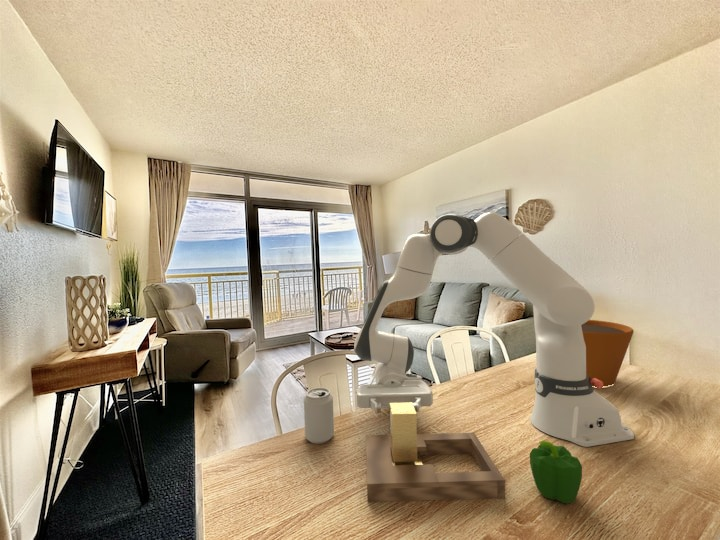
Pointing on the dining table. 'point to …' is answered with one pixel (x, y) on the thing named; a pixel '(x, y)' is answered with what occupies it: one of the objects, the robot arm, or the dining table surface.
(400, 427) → the brass peg
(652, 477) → the dining table surface
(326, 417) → the can
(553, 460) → the bell pepper
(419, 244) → the robot arm
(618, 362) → the flower pot
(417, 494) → the walnut keyhole plate
